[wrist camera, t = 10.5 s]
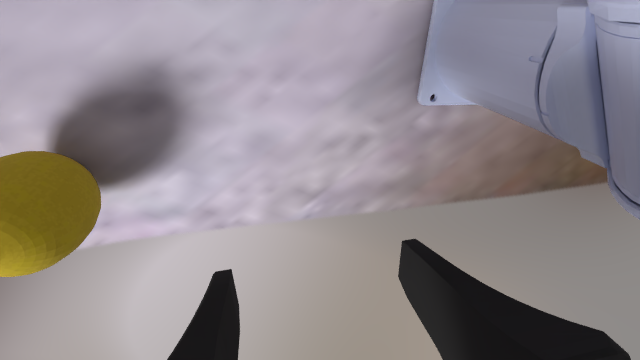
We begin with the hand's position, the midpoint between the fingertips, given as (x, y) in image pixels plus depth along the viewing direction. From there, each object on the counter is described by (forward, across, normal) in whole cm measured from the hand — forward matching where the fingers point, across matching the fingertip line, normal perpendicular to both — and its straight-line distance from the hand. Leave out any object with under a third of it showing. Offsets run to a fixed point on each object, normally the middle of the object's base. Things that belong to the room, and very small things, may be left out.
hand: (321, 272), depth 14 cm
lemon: (+11, +13, -1) cm, 17 cm away
